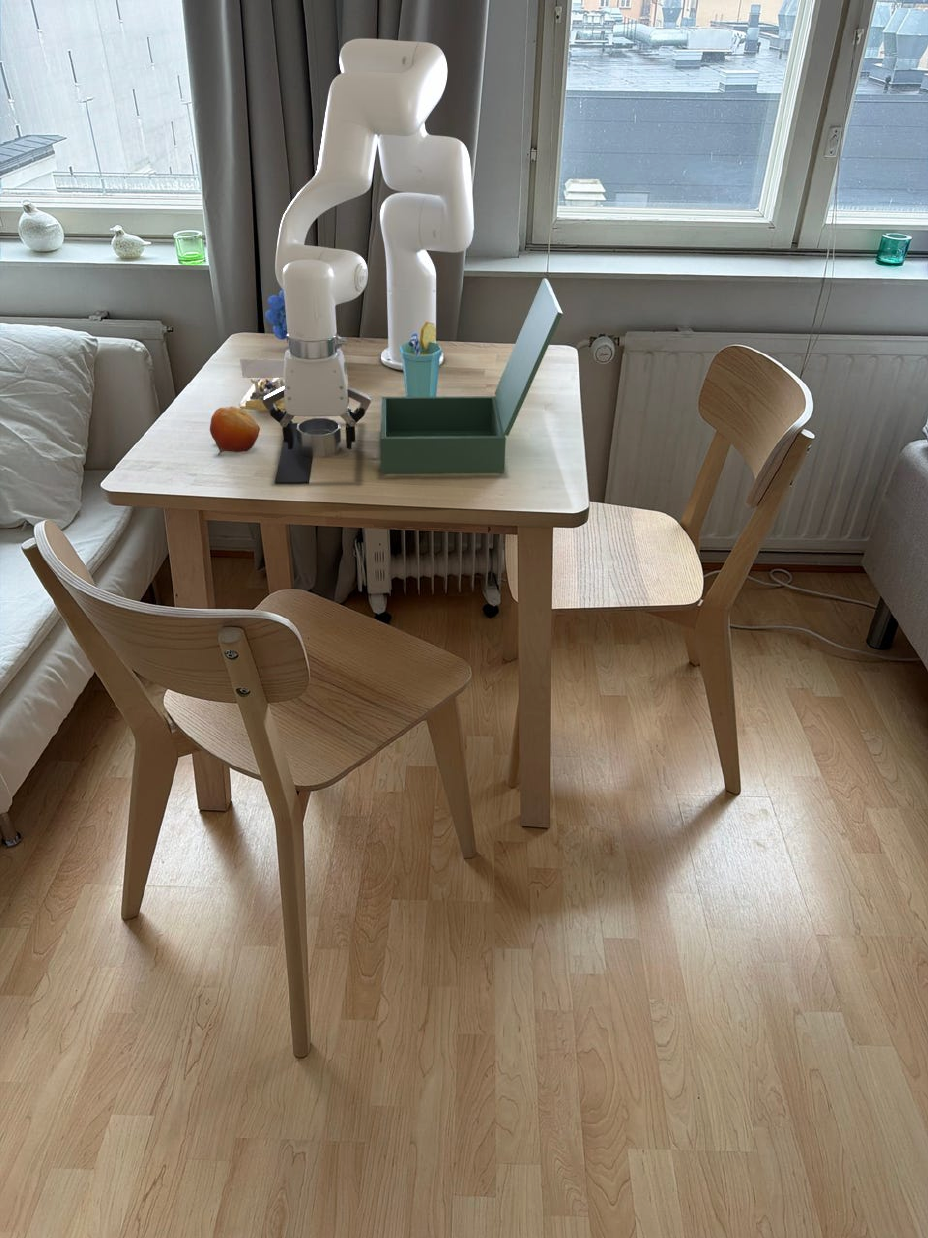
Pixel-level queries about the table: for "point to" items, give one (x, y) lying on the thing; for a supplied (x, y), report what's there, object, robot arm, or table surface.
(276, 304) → the blue flower
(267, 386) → the cake
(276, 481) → the mat
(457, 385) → the table surface
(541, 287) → the lid
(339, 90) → the robot arm
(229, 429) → the fruit
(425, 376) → the cup
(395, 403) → the open green box
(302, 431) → the bowl
